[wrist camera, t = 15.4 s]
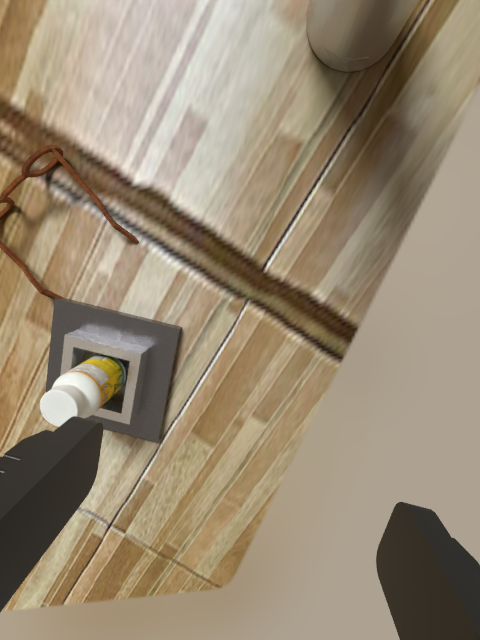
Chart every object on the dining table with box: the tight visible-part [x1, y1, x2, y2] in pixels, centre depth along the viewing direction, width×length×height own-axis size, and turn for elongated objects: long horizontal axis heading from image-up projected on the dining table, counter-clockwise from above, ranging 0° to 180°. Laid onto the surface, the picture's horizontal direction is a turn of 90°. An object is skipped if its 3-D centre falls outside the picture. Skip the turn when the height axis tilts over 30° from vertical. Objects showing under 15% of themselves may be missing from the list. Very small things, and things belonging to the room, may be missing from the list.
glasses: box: [0, 145, 139, 300], centre depth 36 cm, size 13×13×5 cm
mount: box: [46, 298, 182, 442], centre depth 39 cm, size 16×16×4 cm
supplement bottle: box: [40, 354, 126, 427], centre depth 35 cm, size 5×5×10 cm
